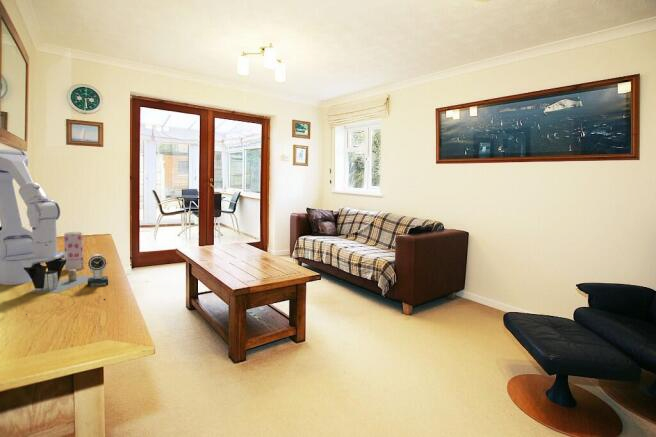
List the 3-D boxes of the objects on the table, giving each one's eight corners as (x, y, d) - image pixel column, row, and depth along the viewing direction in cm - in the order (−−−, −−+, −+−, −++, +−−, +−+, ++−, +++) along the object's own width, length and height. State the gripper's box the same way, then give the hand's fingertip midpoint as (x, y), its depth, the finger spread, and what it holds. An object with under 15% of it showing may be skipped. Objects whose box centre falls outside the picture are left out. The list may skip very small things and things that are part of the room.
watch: (87, 292, 111) (86, 257, 110) (88, 285, 118) (87, 252, 117) (108, 290, 114) (107, 256, 113) (108, 283, 121) (107, 251, 120)
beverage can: (62, 272, 135) (61, 232, 133) (79, 269, 139) (78, 231, 138) (69, 274, 132) (67, 234, 130) (86, 271, 136) (85, 232, 135)
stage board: (27, 295, 107) (27, 291, 106) (76, 278, 126) (75, 275, 126) (57, 296, 106) (57, 292, 106) (101, 279, 126) (101, 276, 126)
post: (67, 281, 118) (66, 270, 118) (71, 279, 120) (71, 269, 120) (73, 281, 118) (73, 271, 118) (78, 280, 120) (78, 269, 120)
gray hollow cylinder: (31, 291, 107) (30, 274, 107) (45, 286, 113) (44, 270, 112) (48, 291, 107) (48, 275, 107) (62, 286, 112) (61, 271, 112)
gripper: (38, 245, 101) (40, 292, 102) (75, 238, 116) (76, 279, 117) (13, 245, 101) (16, 292, 103) (53, 237, 116) (55, 279, 117)
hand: (46, 285), depth 110 cm, fingers closed on gray hollow cylinder, 5 cm apart
